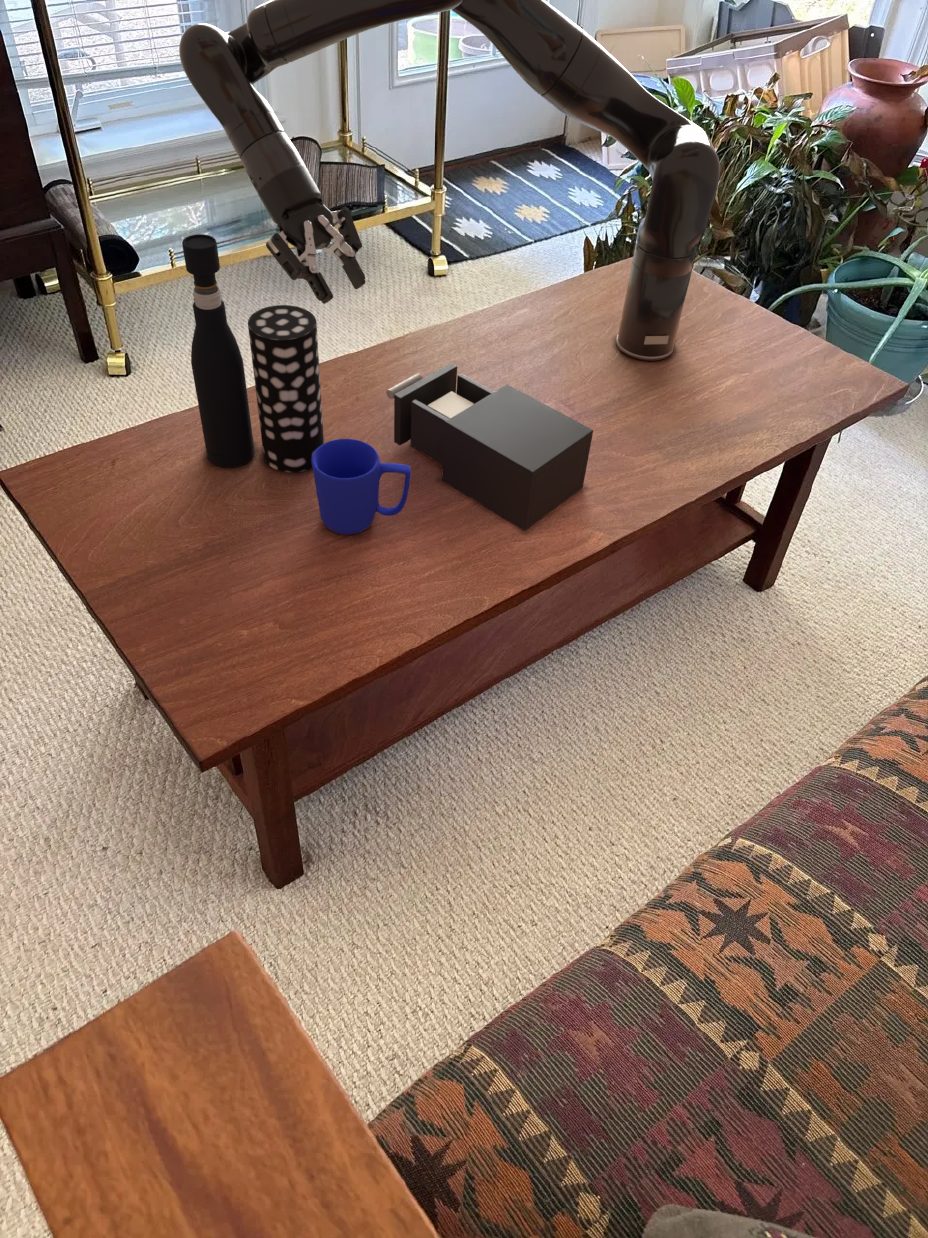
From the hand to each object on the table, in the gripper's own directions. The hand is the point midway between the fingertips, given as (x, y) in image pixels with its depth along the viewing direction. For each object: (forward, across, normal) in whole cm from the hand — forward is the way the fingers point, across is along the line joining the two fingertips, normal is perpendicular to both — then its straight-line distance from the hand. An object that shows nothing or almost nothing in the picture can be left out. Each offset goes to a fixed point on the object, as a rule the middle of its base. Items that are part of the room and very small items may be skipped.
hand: (344, 292), depth 132 cm
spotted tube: (+16, -17, +6) cm, 24 cm away
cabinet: (+34, 0, -12) cm, 36 cm away
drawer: (+24, 0, -4) cm, 25 cm away
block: (+24, 0, -5) cm, 25 cm away
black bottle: (+11, -23, +10) cm, 28 cm away
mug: (+28, -20, -6) cm, 34 cm away
